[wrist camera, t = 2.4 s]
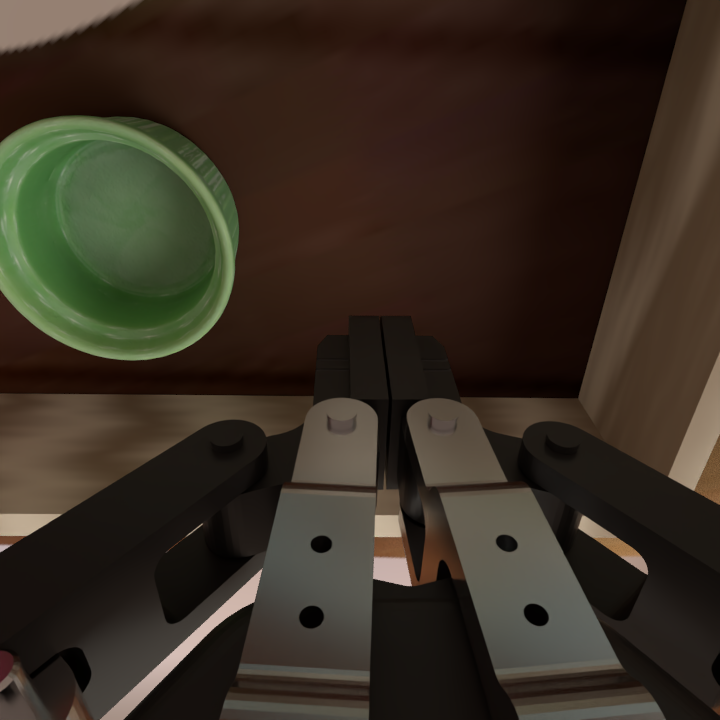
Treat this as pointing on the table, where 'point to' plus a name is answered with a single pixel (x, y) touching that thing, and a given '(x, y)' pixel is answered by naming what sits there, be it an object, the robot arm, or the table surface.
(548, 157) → the table surface
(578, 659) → the robot arm
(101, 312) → the ramekin
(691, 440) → the wooden c-shaped frame
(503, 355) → the table surface
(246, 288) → the table surface
